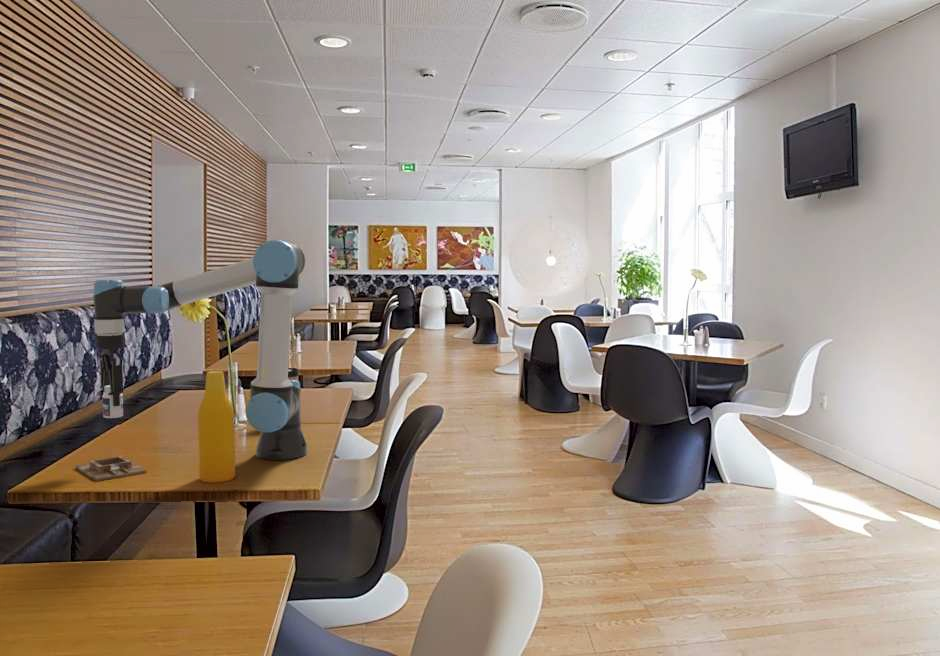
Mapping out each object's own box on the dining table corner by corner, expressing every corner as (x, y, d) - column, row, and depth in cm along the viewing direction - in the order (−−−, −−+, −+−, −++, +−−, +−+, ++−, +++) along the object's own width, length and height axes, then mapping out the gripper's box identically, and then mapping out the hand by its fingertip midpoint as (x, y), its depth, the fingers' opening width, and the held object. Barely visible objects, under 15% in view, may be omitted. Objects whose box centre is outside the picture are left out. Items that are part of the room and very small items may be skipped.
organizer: (146, 472, 211) (145, 463, 210) (96, 481, 202) (96, 471, 202) (123, 460, 224) (123, 451, 224) (75, 468, 215) (75, 459, 215)
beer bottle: (195, 483, 200) (192, 374, 198) (204, 474, 209) (201, 369, 207) (231, 482, 201) (228, 374, 198) (238, 473, 210) (236, 369, 208)
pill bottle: (100, 416, 216) (99, 385, 215) (119, 414, 219) (118, 383, 218) (106, 419, 212) (105, 387, 211) (125, 416, 215) (124, 385, 215)
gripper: (134, 335, 209) (136, 418, 211) (114, 331, 223) (116, 409, 225) (105, 337, 204) (108, 422, 206) (86, 332, 218) (89, 412, 220)
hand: (112, 415), depth 215 cm, fingers closed on pill bottle, 5 cm apart
